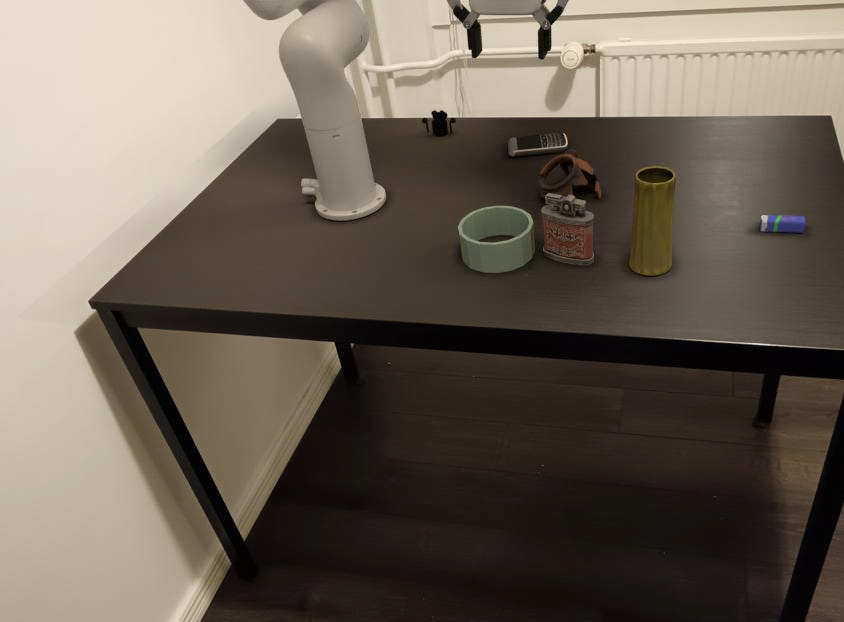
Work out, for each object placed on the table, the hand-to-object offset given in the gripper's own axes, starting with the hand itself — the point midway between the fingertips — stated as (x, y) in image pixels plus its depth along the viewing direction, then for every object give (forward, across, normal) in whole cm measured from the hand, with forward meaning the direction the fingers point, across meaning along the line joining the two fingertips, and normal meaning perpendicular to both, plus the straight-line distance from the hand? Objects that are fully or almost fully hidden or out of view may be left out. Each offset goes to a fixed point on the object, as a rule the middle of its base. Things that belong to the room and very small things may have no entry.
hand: (509, 55), depth 107 cm
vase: (+26, -23, +11) cm, 36 cm away
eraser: (+25, -40, 0) cm, 48 cm away
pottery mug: (+26, -7, -8) cm, 28 cm away
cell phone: (+26, +2, -25) cm, 37 cm away
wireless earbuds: (+27, +23, -31) cm, 47 cm away
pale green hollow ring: (+26, 0, +11) cm, 28 cm away
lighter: (+26, -10, +10) cm, 30 cm away
